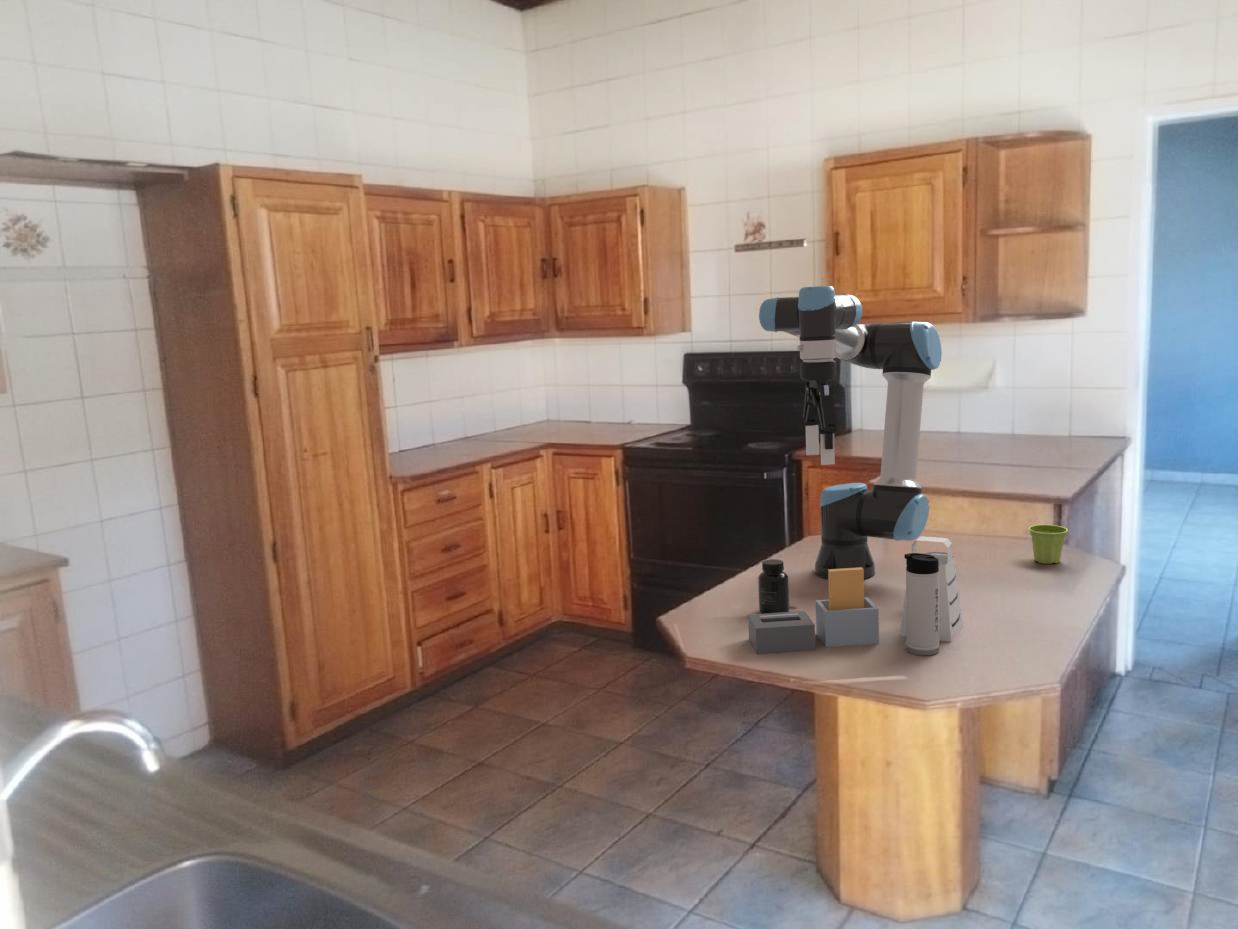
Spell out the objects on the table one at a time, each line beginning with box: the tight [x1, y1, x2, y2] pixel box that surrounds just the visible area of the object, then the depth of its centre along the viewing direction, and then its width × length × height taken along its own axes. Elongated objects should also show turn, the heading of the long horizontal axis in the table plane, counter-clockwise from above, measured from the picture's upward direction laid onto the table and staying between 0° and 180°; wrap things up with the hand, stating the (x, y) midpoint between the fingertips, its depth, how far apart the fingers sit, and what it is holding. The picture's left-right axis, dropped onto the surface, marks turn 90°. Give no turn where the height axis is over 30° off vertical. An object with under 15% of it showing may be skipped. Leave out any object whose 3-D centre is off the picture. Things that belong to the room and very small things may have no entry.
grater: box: [899, 535, 964, 643], centre depth 205 cm, size 10×10×20 cm
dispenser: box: [747, 610, 816, 655], centre depth 201 cm, size 12×9×6 cm
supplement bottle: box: [757, 558, 790, 614], centre depth 224 cm, size 7×7×12 cm
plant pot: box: [1027, 524, 1069, 565], centre depth 253 cm, size 9×9×9 cm
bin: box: [815, 596, 880, 648], centre depth 203 cm, size 8×11×8 cm
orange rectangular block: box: [827, 567, 865, 610], centre depth 202 cm, size 7×2×15 cm, turn 92°
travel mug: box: [904, 552, 940, 656], centre depth 194 cm, size 6×7×20 cm
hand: (820, 459), depth 209 cm, fingers open, 13 cm apart
